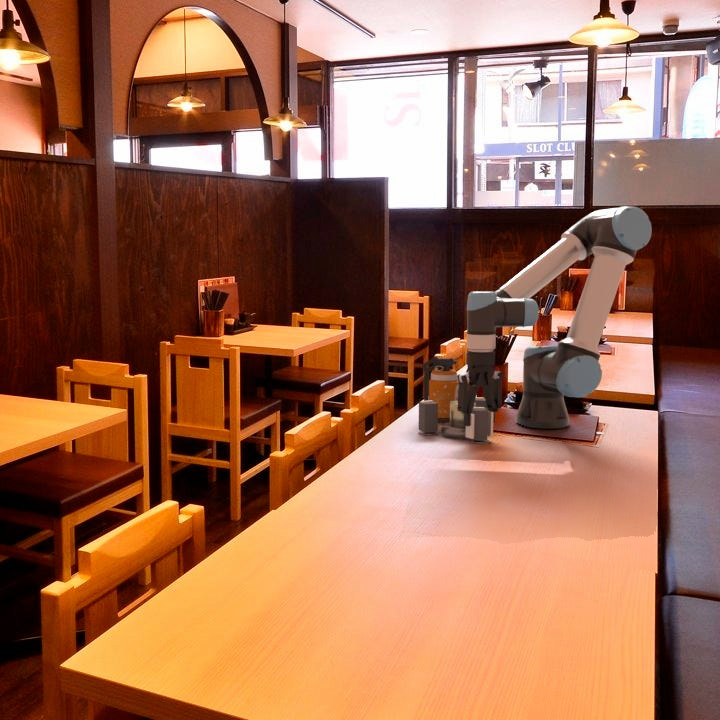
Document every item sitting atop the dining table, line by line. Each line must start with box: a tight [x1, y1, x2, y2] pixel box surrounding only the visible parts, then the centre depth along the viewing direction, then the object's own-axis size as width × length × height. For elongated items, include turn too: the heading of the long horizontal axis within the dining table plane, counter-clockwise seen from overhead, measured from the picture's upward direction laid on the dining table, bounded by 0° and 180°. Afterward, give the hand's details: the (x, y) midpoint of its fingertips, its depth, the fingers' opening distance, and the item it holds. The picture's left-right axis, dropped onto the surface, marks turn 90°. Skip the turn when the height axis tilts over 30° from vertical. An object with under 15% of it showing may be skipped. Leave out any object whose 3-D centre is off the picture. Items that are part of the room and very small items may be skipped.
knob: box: [475, 396, 487, 408], centre depth 222 cm, size 4×4×8 cm
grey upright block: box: [418, 400, 439, 433], centre depth 216 cm, size 4×4×8 cm
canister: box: [421, 356, 459, 425], centre depth 230 cm, size 9×11×20 cm
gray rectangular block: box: [472, 407, 488, 441], centre depth 205 cm, size 4×4×8 cm
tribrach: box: [418, 401, 490, 445], centre depth 215 cm, size 19×22×10 cm
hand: (479, 436), depth 206 cm, fingers closed on gray rectangular block, 6 cm apart
